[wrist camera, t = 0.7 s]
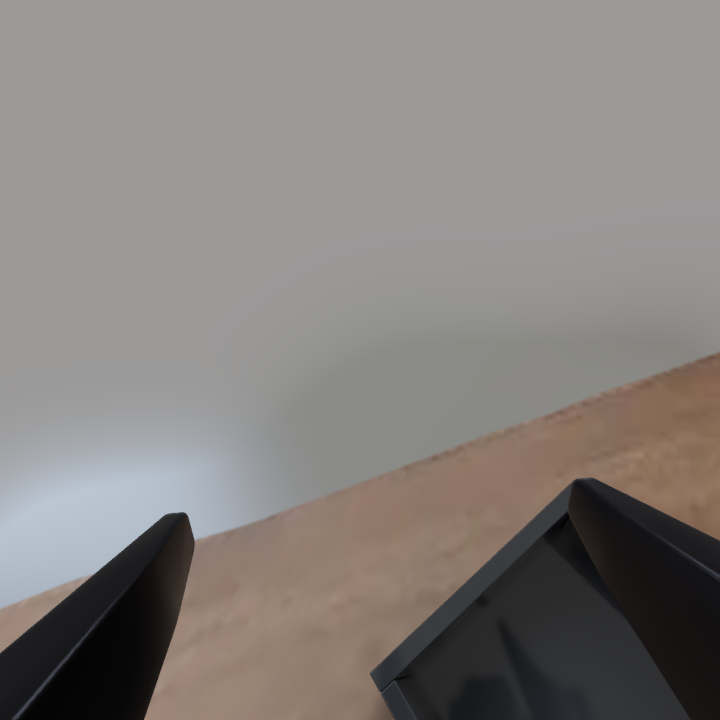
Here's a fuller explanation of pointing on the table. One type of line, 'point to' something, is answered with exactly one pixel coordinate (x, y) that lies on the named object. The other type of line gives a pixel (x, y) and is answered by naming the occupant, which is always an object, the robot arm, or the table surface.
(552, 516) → the open storage bin
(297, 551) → the table surface
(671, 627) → the robot arm
